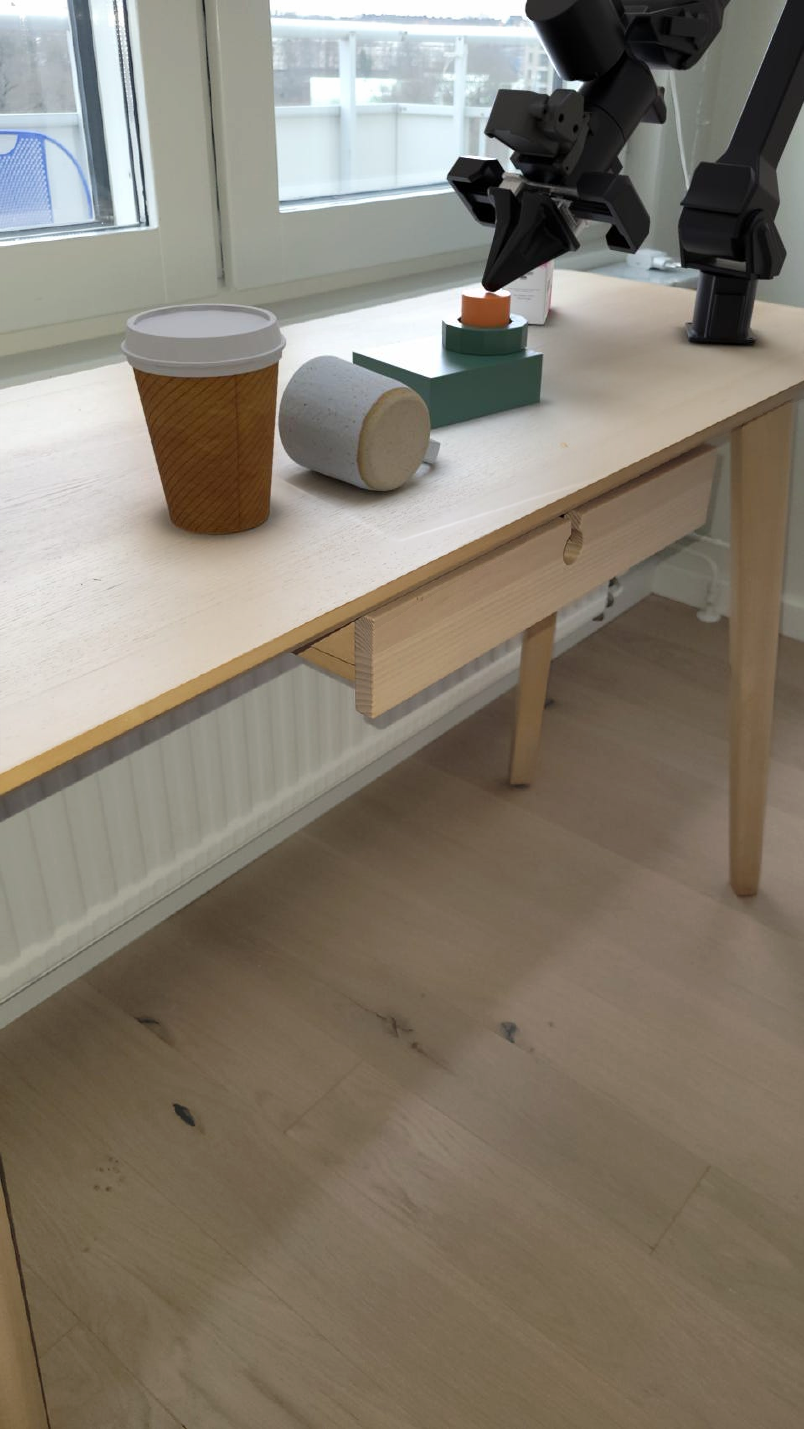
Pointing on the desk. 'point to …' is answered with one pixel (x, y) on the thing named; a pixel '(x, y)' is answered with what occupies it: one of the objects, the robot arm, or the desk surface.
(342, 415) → the ceramic mug
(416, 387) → the green button base
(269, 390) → the disposable coffee cup
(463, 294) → the orange squat cylinder
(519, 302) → the ink cartridge box
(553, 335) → the desk surface
